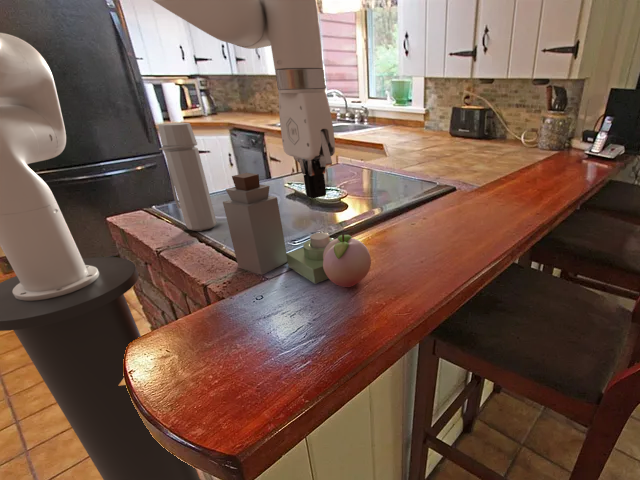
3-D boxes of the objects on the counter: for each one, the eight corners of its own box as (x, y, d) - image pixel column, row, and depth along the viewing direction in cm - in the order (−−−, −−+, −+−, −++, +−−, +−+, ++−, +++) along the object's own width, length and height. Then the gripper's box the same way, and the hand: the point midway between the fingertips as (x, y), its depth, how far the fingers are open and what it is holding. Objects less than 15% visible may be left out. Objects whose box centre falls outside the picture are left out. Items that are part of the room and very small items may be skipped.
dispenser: (288, 266, 72) (284, 243, 70) (330, 252, 78) (327, 230, 76) (315, 284, 66) (311, 259, 63) (358, 266, 72) (357, 243, 69)
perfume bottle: (265, 255, 77) (248, 170, 69) (287, 261, 74) (272, 173, 66) (238, 267, 72) (216, 177, 64) (261, 275, 69) (242, 181, 61)
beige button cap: (307, 245, 70) (306, 235, 69) (323, 240, 72) (322, 231, 71) (317, 251, 68) (316, 241, 67) (333, 245, 70) (332, 235, 69)
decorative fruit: (375, 297, 61) (372, 242, 57) (326, 302, 60) (319, 247, 56) (369, 272, 70) (366, 223, 65) (326, 276, 68) (320, 226, 64)
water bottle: (224, 222, 96) (199, 122, 85) (205, 233, 90) (175, 125, 78) (193, 221, 98) (165, 122, 87) (172, 231, 91) (139, 125, 80)
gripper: (258, 84, 60) (278, 193, 68) (305, 82, 50) (321, 209, 58) (298, 83, 64) (312, 185, 73) (348, 81, 55) (358, 199, 63)
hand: (316, 196), depth 65 cm, fingers closed
